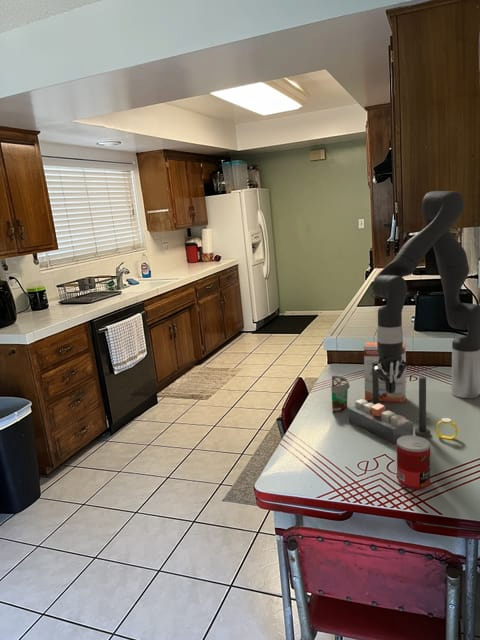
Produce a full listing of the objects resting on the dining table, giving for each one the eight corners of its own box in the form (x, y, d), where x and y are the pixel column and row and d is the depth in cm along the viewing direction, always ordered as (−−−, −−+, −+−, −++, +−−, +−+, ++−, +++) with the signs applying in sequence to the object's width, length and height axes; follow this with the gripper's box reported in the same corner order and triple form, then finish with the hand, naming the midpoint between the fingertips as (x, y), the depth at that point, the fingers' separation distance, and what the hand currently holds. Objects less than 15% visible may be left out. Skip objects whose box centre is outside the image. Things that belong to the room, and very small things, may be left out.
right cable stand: (422, 429, 149) (421, 374, 146) (433, 434, 146) (433, 378, 142) (411, 433, 147) (411, 377, 144) (423, 438, 144) (423, 381, 140)
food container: (350, 414, 164) (349, 387, 162) (332, 414, 166) (331, 387, 164) (350, 400, 176) (349, 375, 174) (333, 400, 178) (331, 375, 175)
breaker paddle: (379, 409, 152) (378, 403, 152) (385, 412, 150) (384, 405, 149) (372, 413, 151) (371, 407, 151) (378, 416, 149) (377, 409, 148)
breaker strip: (367, 416, 162) (366, 396, 161) (413, 437, 145) (412, 416, 143) (348, 422, 159) (347, 402, 157) (393, 445, 141) (393, 423, 140)
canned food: (426, 493, 117) (426, 451, 114) (393, 485, 121) (392, 445, 119) (433, 477, 123) (433, 438, 121) (401, 471, 127) (400, 432, 125)
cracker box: (364, 401, 175) (363, 345, 170) (366, 395, 180) (365, 341, 176) (405, 403, 170) (404, 346, 165) (406, 397, 175) (405, 342, 171)
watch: (435, 439, 143) (434, 420, 142) (437, 435, 146) (435, 417, 145) (457, 441, 140) (456, 422, 139) (458, 437, 142) (457, 418, 141)
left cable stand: (376, 409, 167) (375, 360, 163) (385, 413, 163) (384, 362, 159) (366, 412, 165) (365, 362, 161) (375, 416, 161) (374, 365, 157)
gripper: (396, 333, 154) (397, 384, 158) (365, 341, 148) (366, 393, 152) (414, 337, 147) (414, 391, 151) (382, 345, 142) (383, 401, 145)
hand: (390, 392), depth 151 cm, fingers closed
